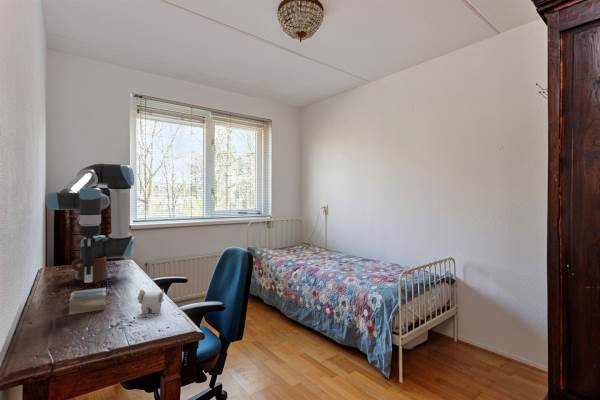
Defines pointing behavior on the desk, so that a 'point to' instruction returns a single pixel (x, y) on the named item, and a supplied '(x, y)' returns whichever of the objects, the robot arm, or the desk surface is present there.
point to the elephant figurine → (150, 301)
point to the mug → (98, 267)
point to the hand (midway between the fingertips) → (88, 279)
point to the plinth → (87, 300)
